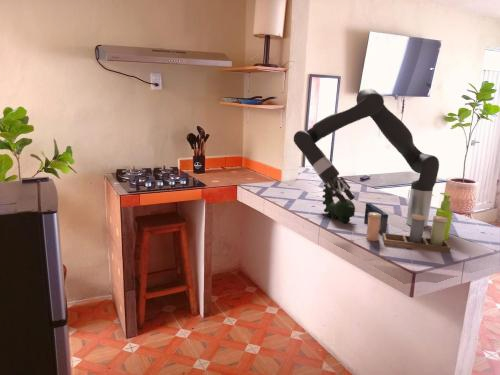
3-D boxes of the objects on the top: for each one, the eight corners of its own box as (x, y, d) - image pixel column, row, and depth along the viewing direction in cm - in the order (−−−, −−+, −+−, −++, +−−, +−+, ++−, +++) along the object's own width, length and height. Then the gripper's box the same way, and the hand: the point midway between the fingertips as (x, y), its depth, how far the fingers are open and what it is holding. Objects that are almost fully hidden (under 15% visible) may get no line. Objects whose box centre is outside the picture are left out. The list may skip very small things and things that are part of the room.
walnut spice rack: (381, 240, 157) (382, 232, 156) (444, 248, 152) (445, 240, 151) (383, 248, 149) (384, 239, 148) (449, 256, 144) (450, 247, 143)
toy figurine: (317, 215, 194) (344, 227, 170) (318, 178, 191) (346, 185, 168) (333, 214, 197) (362, 225, 173) (334, 177, 194) (364, 184, 171)
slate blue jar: (407, 241, 153) (411, 213, 150) (420, 243, 152) (424, 214, 149) (409, 246, 148) (413, 216, 146) (422, 247, 147) (426, 218, 144)
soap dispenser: (441, 237, 164) (449, 192, 160) (450, 243, 158) (458, 196, 153) (428, 236, 164) (435, 191, 159) (436, 242, 157) (444, 195, 153)
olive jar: (427, 244, 151) (432, 215, 148) (440, 245, 150) (445, 216, 147) (430, 248, 147) (434, 218, 144) (443, 250, 145) (448, 220, 143)
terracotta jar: (365, 239, 158) (368, 211, 155) (377, 241, 157) (380, 213, 154) (365, 243, 153) (368, 215, 151) (378, 245, 152) (381, 216, 149)
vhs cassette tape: (363, 223, 179) (365, 202, 177) (369, 223, 180) (372, 202, 177) (379, 237, 162) (381, 214, 159) (385, 237, 162) (388, 214, 160)
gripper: (325, 166, 153) (350, 199, 150) (338, 162, 165) (361, 192, 161) (312, 177, 157) (336, 209, 154) (326, 173, 169) (348, 202, 165)
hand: (349, 201), depth 157 cm, fingers open, 8 cm apart
